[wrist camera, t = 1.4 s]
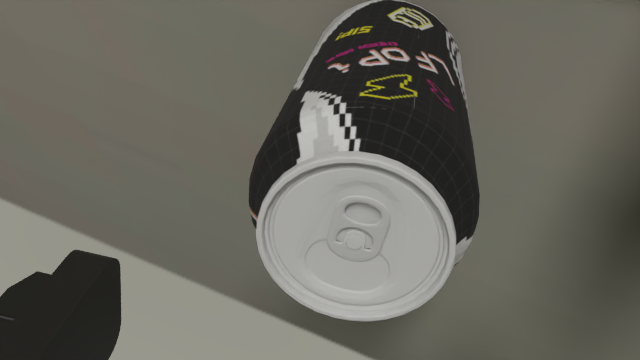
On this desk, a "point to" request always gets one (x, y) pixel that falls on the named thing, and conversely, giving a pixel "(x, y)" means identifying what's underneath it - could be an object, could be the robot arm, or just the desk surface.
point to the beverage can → (369, 168)
